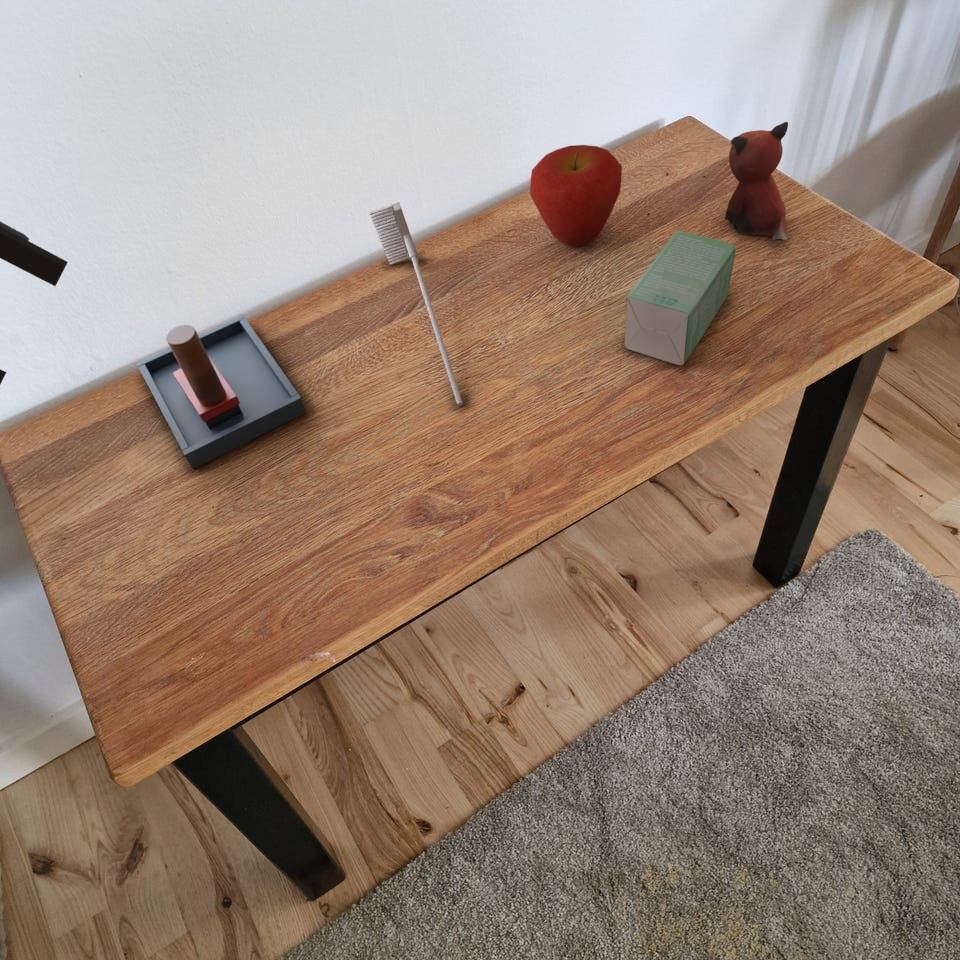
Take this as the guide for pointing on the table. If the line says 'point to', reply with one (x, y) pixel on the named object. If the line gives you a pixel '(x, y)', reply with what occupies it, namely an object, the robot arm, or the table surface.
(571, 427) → the table surface
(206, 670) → the table surface
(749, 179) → the stuffed fox
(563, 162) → the apple
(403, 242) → the brush
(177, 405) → the tray
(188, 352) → the brown cylinder on base
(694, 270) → the box
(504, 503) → the table surface
